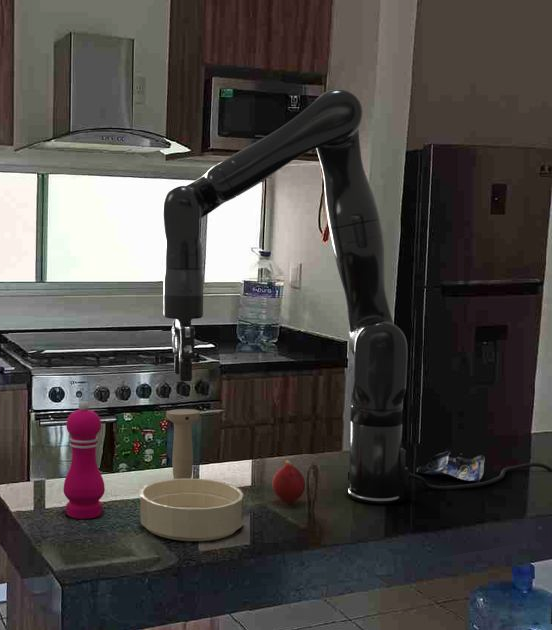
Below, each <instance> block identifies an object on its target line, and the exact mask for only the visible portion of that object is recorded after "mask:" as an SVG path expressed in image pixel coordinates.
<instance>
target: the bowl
mask: <svg viewBox="0 0 552 630" xmlns="http://www.w3.org/2000/svg"><path fill="white" fill-rule="evenodd" d="M244 497H245V495H244V492H243V491H242V489H240V488H239V487H237V486H235V485H234V484H230V483H228V482H227V483H226V482H224V481H219V480H215V479H214V480H213V479H207V478H194V477H192V478H188V479H174V478H172V479H165V480H164V479H163V480H159V481H154V482H151V483H148V484H146V485H145V486H143V487H142V488H141V489H140V490H139V520H140V521H139V522H140V524H141V526H143V527H144V528H145V529H146V530H148V531H149V532H150V533H151V534H154V535H156V536H158V537H161V538H163V539H164V538H165V539H168V540H174V541H184V542H206V541H214V540H219V539H223V538H226V537H229V536H231V535H233V534H235V533H236V532H237V531H238V530H239V529H240V528H242V526H243V524H244V508H245V507H244V504H245V503H244V499H245V498H244Z"/></svg>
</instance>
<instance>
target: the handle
mask: <svg viewBox="0 0 552 630" xmlns="http://www.w3.org/2000/svg"><path fill="white" fill-rule="evenodd" d="M200 414H201V412H200V410H198V409H193V408H192V409H190V408H180V409H179V408H178V409H170V410H166V412H165V416H166V417H165V418H166V419H167V420H168V421H170V422H171V423H173V445H172V458H171V459H172V476H173V479H188V478H193V472H194V450H193V431H192V429H193V423H194V422H197V421H198V420H199V419H200V417H201V415H200Z"/></svg>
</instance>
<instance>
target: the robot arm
mask: <svg viewBox="0 0 552 630" xmlns="http://www.w3.org/2000/svg"><path fill="white" fill-rule="evenodd" d="M362 106H363V105H362V103H361V100H360V99H359V98H358V97H357V95H355V94H354V93H352V92H351V91H350V90H346V89H343V88H342V89H341V88H336V89H331V90H327V91H325V92H323V93H322V94H320V95H319V96H318V97H317V98H315V100H314V101H313V102H312V103H311V104H309V106H307V107H306V108H305V109H303V110H302V111H301V112H299V114H298V115H296V116H294V118H292V119H291V120H289V121H288V122H286V123H285V124H284V125H282V126H281V127H279V128H277V129H276V130H274V131H273V132H271V133H270V134H268V135H266V136H265V137H263V138H261V139H259V140H258V141H256V142H254V143H251V144H250V145H248V146H247V147H244V148H242V149H241V150H239V151H238V152H236V153H234V154H232V155H230V156H229V157H227V158H226V159H224V160H222V161H220V162H219V163H217V164H215V165H213V166H212V167H211V168H209V169H208V170H207V172H206V173H205V174H203V175H202V176H201V177H199V178H197V179H195V180H193V181H192V182H190V183H188V184H186V185H178V186H175V187H172V188H171V189H170V190H169V191H168V192H167V194H165V197H164V200H163V204H162V213H163V214H162V215H163V227H164V228H163V229H164V237H165V250H164V263H165V264H164V276H163V317H164V318H166V319H172V327H171V336H172V337H171V338H172V339H171V343H172V346H171V348H172V353H173V355H174V373H175V374H176V375H179V380H180V382H191V381H192V380H193V361H194V360H195V357H196V354H195V347H196V344H195V335H196V328H195V326H194V325H192V320H197V319H201V318H203V316H204V275H203V245H202V241H201V237H200V236H201V219H203V218H204V217H206V216H207V215H209V214H211V212H213V211H214V210H216V209H217V208H219V207H220V206H222V205H223V204H224V203H226V202H229V201H231V200H233V199H235V198H237V197H238V196H241V195H242V194H244V193H245V192H247V191H249V190H251V189H252V188H254V187H256V186H257V185H259V184H260V183H262V182H264V181H266V180H267V179H268V178H269V177H271V176H272V175H273V174H275V173H276V172H278V171H279V170H281V169H282V168H284V167H285V166H286V165H288V164H289V163H291V162H293V161H295V160H296V159H298V158H300V157H301V156H303V155H305V154H307V153H309V152H311V151H313V150H315V149H316V152H317V155H318V159H319V162H320V166H321V171H322V175H323V176H322V177H323V185H324V200H325V211H326V217H327V225H328V229H329V235H330V241H331V248H332V251H333V254H334V259H335V263H336V264H335V265H336V268H337V271H338V275H339V278H340V282H341V285H342V288H343V291H344V295H345V301H346V307H347V308H346V309H347V319H348V320H347V321H348V332H349V333H348V335H349V347H350V350H351V353H352V355H353V357H354V358H353V360H354V362H353V365H354V366H353V384H352V389H351V392H350V422H349V423H350V425H349V426H350V427H349V432H350V433H349V467H348V468H349V469H348V472H347V481H348V489H347V490H348V491H347V493H348V497H349V498H351V499H353V500H354V501H357V502H361V503H365V504H371V505H372V504H373V505H390V504H395V503H398V502H405V499H406V498H405V495H406V493H405V491H406V487H407V486H409V482H410V481H409V479H410V478H411V479H415V480H418V481H419V482H421V483H422V484H423V486H424V487H425V488H427V489H431V490H448V491H449V490H450V491H452V490H453V491H454V490H464V489H471V488H480V487H484V486H489V485H492V484H495V483H497V482H499V481H501V480H503V479H504V477H505V475H506V473H507V472H510V471H515V470H519V469H525V468H532V467H538V468H543V469H544V470H547V471H548V473H549V472H550V473H552V467H551V466H549V465H548V464H544V463H541V462H528V463H522V464H518V465H512V466H508V467H504V468H502V470H500V474H499V475H498V476H496V477H493V478H492V479H487V480H485V481H479V483H478V482H474V483H473V482H472V483H466V484H465V483H464V484H457V485H446V486H445V485H434V484H431V483H428V482H427V480H426V479H425V478H424V477H423V476H420V475H419V474H415V473H410V469H409V468H408V467H407V466H406V461H407V457H406V456H407V451H406V449H404V448H403V447H402V446H403V415H404V414H403V411H404V397H405V394H406V389H407V375H408V372H407V371H408V342H407V338H406V336H405V334H404V332H403V330H401V328H400V327H399V326H398V325H396V324H395V323H394V319H393V317H392V316H393V315H392V314H391V309H390V305H389V301H388V298H387V293H386V292H387V291H386V282H385V280H386V279H385V277H386V246H385V236H384V232H383V226H382V221H381V216H380V212H379V209H378V205H377V201H376V199H375V195H374V192H373V189H372V187H371V185H370V183H369V182H370V181H369V178H368V177H367V175H366V172H365V168H364V164H363V159H362V151H361V142H360V141H361V140H360V126H361V123H362V120H363V107H362ZM550 606H551V607H550V608H551V610H550V624H552V605H550Z"/></svg>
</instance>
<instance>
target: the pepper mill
mask: <svg viewBox="0 0 552 630" xmlns="http://www.w3.org/2000/svg"><path fill="white" fill-rule="evenodd" d="M89 407H90V405H89V402H88V401H86V400H82V401H80V402H79V403H78V409H77V410H74V411H72V412H71V413H70V414H69V415H68V417H67V420H66V430H67V432H68V433H69V435H70V437H69V446H70V448H71V462H70V466H69V469H68V471H67V474H66V476H65V479H64V483H63V490H62V491H63V495H64V496H65V498H66V499H67V500H68V502H66V504H65V505H66V506H65V507H66V510H65V511H66V516H68V517H69V518H73V519H76V520H78V519H79V520H85V519H86V520H87V519H93V518H98V517H99V516H101V515H102V514H103V503H102V501H100V500H101V499H102V497H103V496H104V494H105V491H106V489H105V482H104V478H103V475H102V473H101V471H100V470H99V466H98V462H97V456H96V453H97V452H96V450H97V447H98V446H99V437H98V436H97V435H98V434H99V433H100V431H101V429H102V421H101V417H100V416H99V415H98V413H97V412H96V411H94V410H91V409H89Z"/></svg>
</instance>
